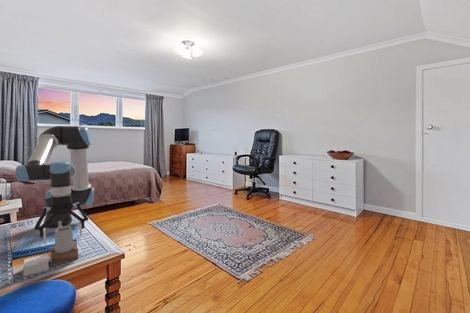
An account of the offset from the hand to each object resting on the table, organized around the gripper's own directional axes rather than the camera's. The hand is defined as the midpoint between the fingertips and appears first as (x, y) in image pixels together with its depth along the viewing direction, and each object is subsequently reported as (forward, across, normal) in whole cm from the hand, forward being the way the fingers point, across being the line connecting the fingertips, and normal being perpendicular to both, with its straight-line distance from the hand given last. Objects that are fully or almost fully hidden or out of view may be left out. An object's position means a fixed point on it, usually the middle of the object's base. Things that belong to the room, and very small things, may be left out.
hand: (63, 239), depth 110 cm
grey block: (+9, -10, -4) cm, 14 cm away
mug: (+4, 0, 0) cm, 4 cm away
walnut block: (+9, 0, 0) cm, 9 cm away
